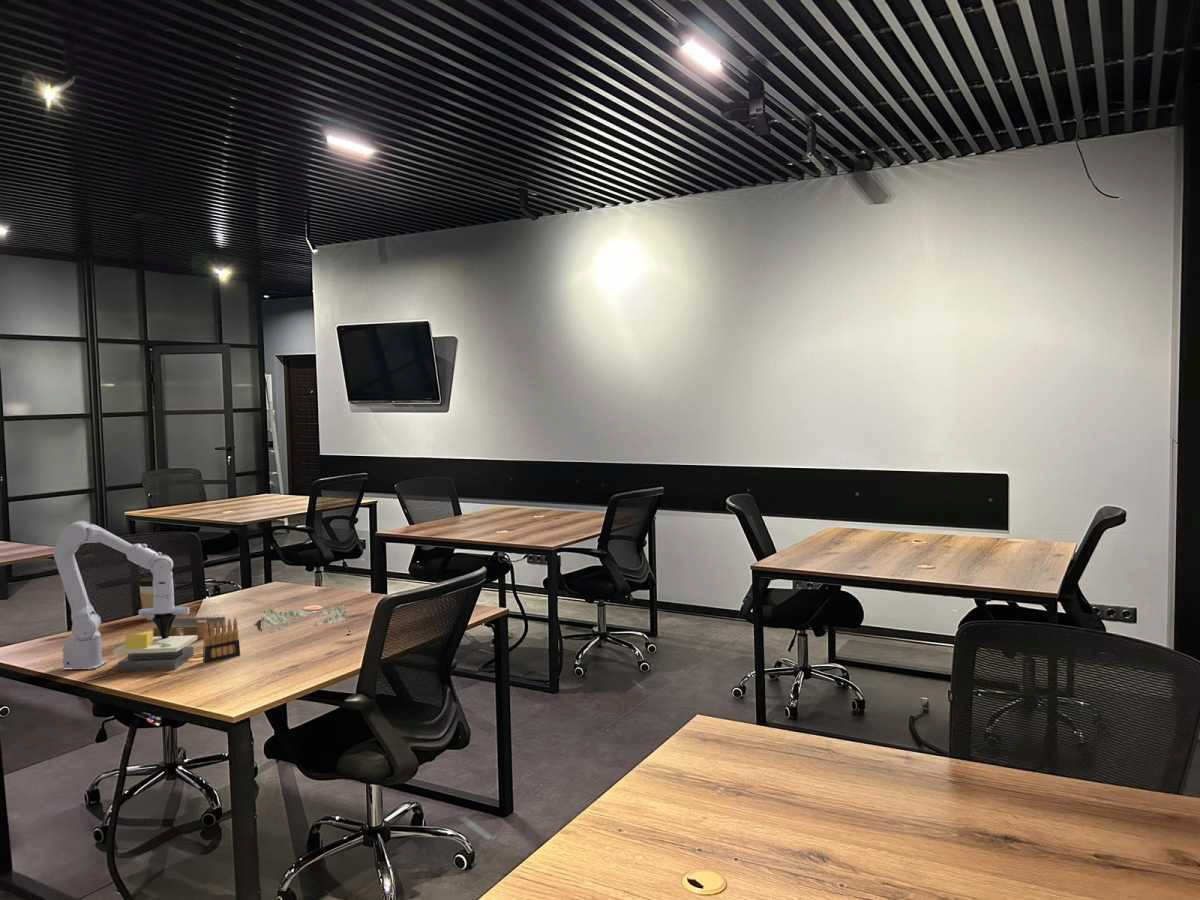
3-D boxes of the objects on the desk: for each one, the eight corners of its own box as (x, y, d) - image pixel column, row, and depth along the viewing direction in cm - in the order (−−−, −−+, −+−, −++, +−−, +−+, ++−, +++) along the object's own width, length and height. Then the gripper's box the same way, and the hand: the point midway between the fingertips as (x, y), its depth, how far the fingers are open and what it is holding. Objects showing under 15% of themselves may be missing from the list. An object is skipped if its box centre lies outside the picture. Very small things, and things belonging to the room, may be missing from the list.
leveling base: (118, 671, 244) (118, 655, 244) (140, 658, 258) (139, 642, 258) (175, 669, 246) (174, 653, 246) (193, 656, 260) (192, 640, 260)
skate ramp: (244, 624, 302) (244, 604, 301) (204, 651, 267) (204, 628, 267) (162, 626, 300) (162, 605, 300) (111, 654, 265) (110, 630, 265)
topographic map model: (351, 636, 284) (350, 622, 284) (258, 645, 274) (258, 631, 273) (344, 613, 317) (344, 600, 317) (261, 621, 307) (261, 607, 307)
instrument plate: (112, 654, 243) (112, 636, 243) (137, 641, 259) (137, 624, 259) (176, 651, 245) (176, 634, 245) (197, 639, 261) (197, 622, 261)
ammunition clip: (205, 663, 252) (204, 624, 252) (202, 662, 254) (201, 623, 253) (240, 655, 260) (239, 618, 260) (238, 654, 261) (236, 617, 261)
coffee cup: (174, 615, 314) (173, 576, 314) (158, 621, 304) (156, 581, 304) (150, 615, 315) (149, 576, 315) (133, 621, 306) (131, 581, 305)
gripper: (192, 591, 262) (194, 633, 262) (144, 593, 260) (146, 635, 261) (183, 596, 255) (185, 639, 255) (134, 597, 253) (136, 641, 254)
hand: (165, 637), depth 258 cm, fingers closed, pressing on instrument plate
